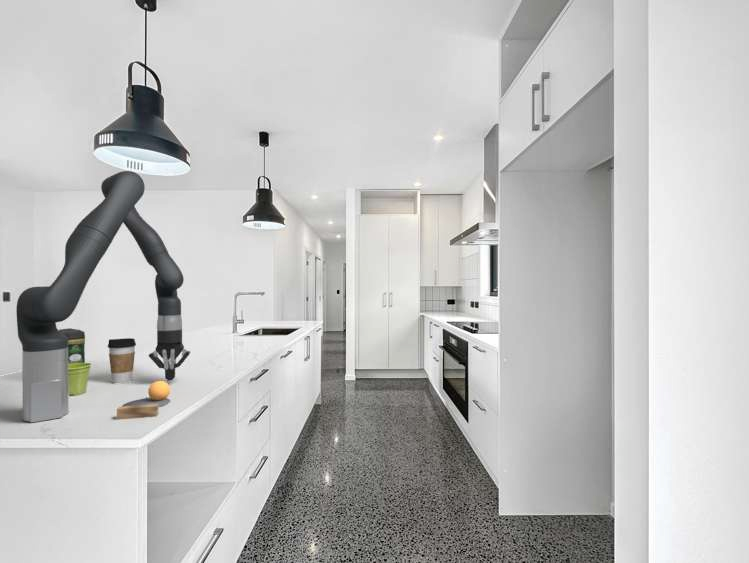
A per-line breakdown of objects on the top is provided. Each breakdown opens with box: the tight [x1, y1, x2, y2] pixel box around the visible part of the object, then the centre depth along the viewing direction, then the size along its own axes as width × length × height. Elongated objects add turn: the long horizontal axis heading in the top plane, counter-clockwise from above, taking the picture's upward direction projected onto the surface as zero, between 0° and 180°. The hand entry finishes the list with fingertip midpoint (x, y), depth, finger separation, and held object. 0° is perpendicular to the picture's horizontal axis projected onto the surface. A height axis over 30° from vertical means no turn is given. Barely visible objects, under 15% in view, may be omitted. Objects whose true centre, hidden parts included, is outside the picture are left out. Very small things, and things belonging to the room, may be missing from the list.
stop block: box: [116, 404, 160, 420], centre depth 105 cm, size 9×2×3 cm, turn 104°
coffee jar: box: [58, 328, 86, 364], centre depth 144 cm, size 10×8×19 cm
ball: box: [147, 380, 171, 401], centre depth 120 cm, size 6×6×6 cm
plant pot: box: [68, 362, 93, 396], centre depth 128 cm, size 9×9×9 cm
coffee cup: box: [107, 337, 137, 384], centre depth 143 cm, size 8×8×15 cm
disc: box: [121, 397, 171, 408], centre depth 116 cm, size 12×12×1 cm
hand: (170, 380), depth 139 cm, fingers closed
